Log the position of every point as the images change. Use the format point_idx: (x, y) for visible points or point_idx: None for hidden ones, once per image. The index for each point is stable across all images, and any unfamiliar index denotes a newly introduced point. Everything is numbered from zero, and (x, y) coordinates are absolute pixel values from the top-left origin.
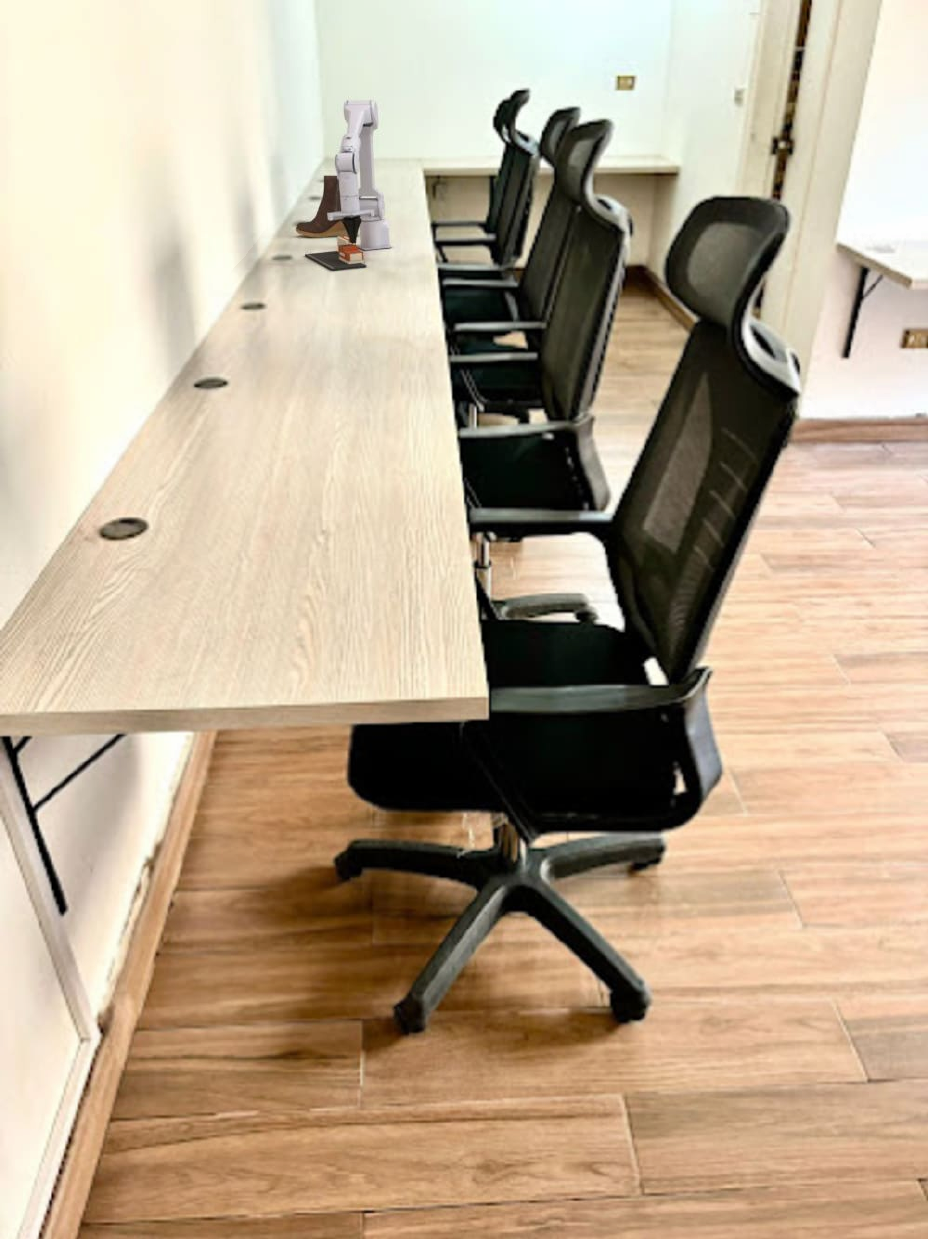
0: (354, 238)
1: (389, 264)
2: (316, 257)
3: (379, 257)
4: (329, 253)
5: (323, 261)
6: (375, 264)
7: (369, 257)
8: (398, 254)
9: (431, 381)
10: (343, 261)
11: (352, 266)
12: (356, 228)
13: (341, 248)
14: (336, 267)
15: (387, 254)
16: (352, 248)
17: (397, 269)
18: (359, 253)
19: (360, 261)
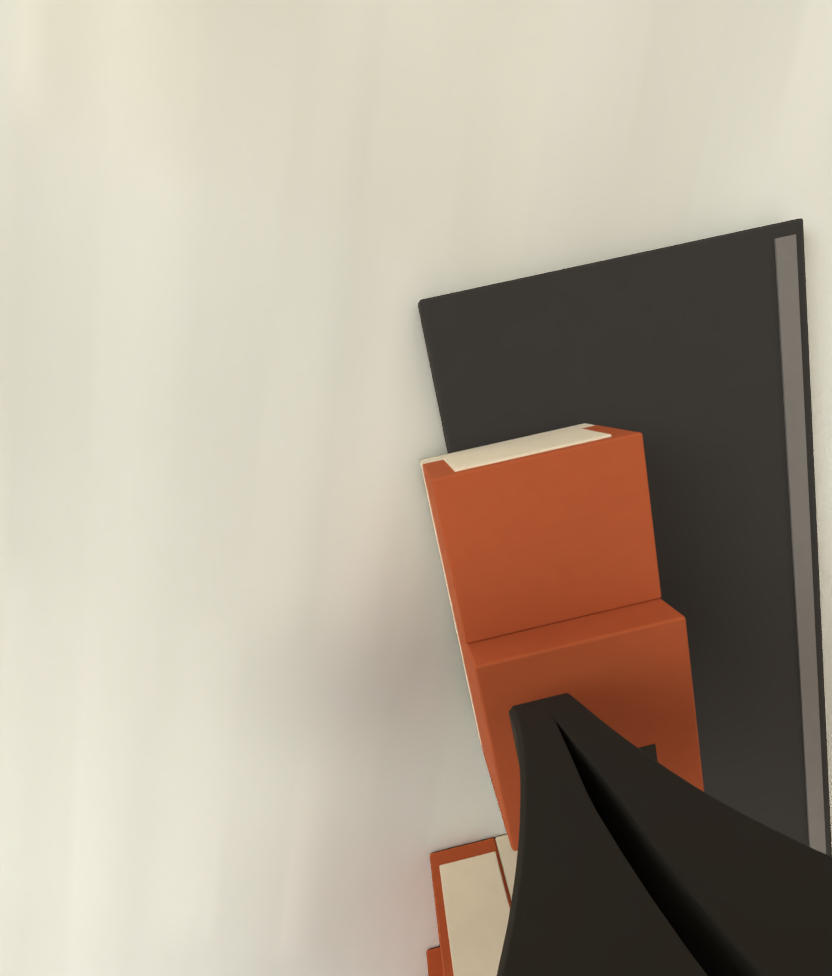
0: (557, 733)
1: (146, 381)
2: (789, 827)
3: (225, 763)
4: None
5: (780, 641)
6: (300, 433)
7: (321, 786)
8: (25, 852)
9: None
10: None
11: (572, 285)
12: (579, 872)
13: (682, 676)
14: (740, 292)
15: (136, 875)
16: (553, 636)
17: (64, 31)
18: (483, 462)
19: (460, 451)
